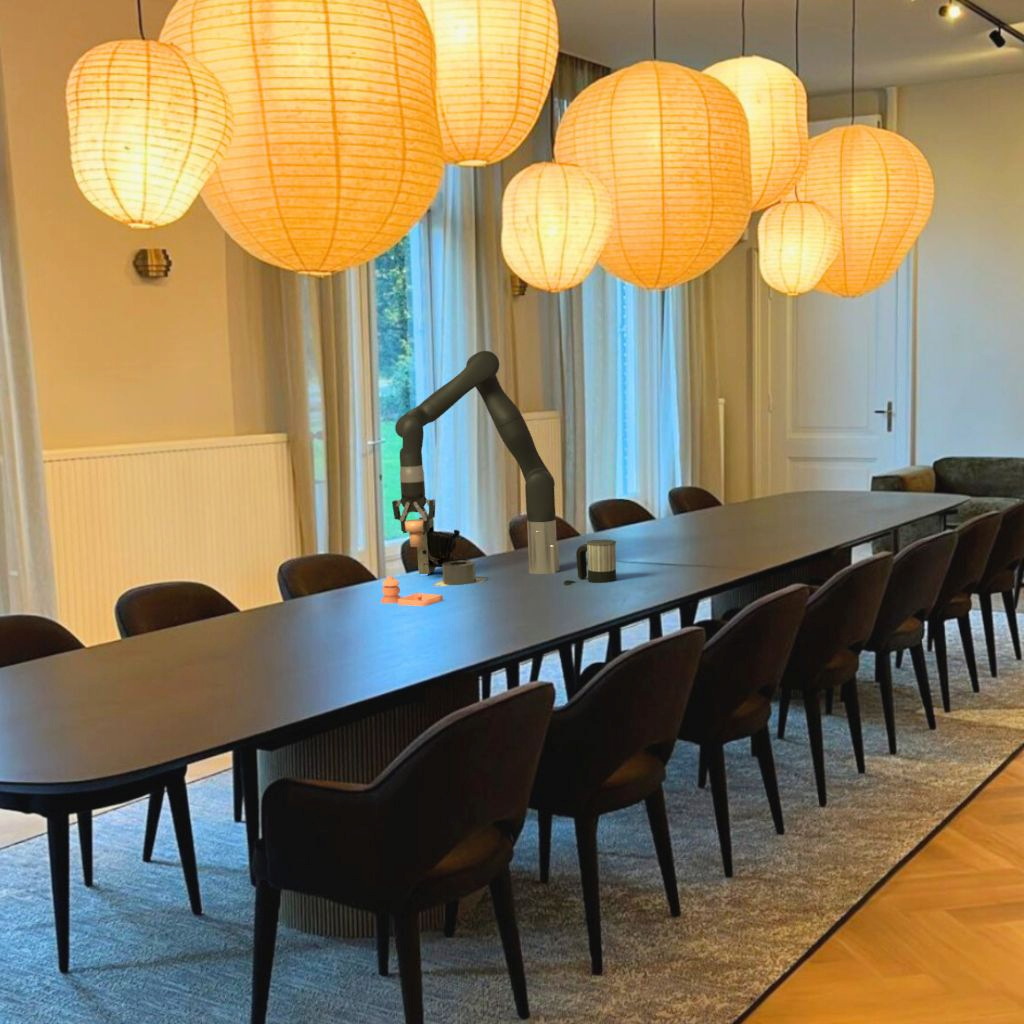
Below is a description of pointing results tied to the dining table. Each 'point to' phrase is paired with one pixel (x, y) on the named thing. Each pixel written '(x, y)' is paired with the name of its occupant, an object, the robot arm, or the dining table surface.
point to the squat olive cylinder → (459, 572)
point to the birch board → (449, 585)
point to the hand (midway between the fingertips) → (415, 532)
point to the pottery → (392, 596)
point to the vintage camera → (435, 549)
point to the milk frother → (597, 561)
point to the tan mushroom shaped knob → (415, 532)
